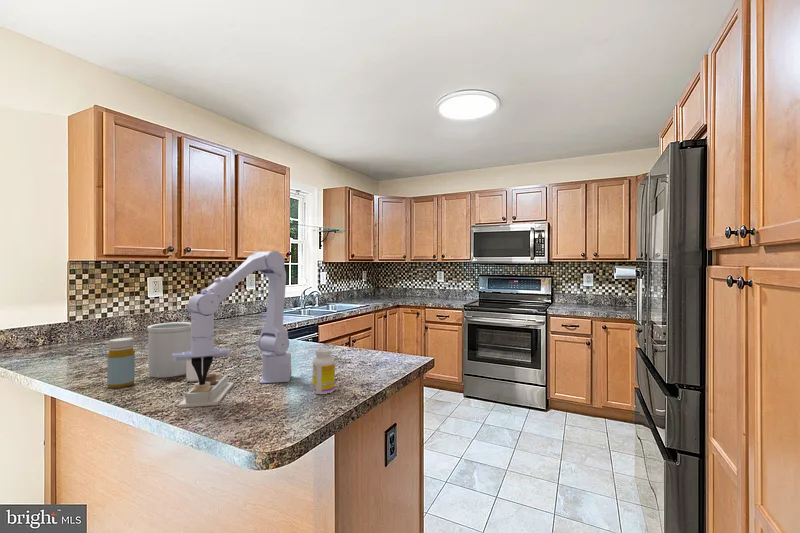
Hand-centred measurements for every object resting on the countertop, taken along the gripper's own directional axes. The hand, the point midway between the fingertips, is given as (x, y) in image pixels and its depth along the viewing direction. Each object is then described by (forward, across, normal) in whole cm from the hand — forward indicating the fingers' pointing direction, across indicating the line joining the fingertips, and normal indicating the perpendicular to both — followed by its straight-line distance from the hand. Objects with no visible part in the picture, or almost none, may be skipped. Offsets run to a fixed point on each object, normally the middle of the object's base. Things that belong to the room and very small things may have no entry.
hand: (202, 383), depth 103 cm
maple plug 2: (+4, -3, -11) cm, 12 cm away
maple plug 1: (+4, 0, 0) cm, 4 cm away
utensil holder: (+5, +11, -39) cm, 41 cm away
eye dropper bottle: (+5, +2, -24) cm, 25 cm away
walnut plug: (+3, -1, -5) cm, 6 cm away
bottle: (+5, +24, -29) cm, 38 cm away
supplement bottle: (+5, -33, +8) cm, 35 cm away
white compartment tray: (+5, -2, -5) cm, 8 cm away
